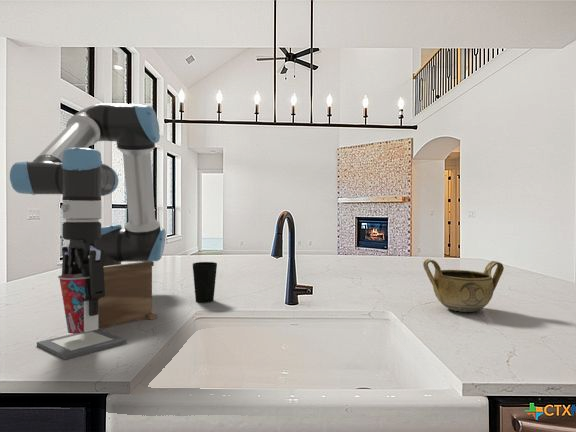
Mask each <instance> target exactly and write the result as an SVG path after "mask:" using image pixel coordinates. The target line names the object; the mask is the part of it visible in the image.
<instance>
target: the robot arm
mask: <svg viewBox="0 0 576 432" xmlns="http://www.w3.org/2000/svg"><path fill="white" fill-rule="evenodd" d="M160 136H161V135H160V126H159V121H158V117H157V113H156V111H155V110H154V108H152V106H150V105H145V104H135V103H129V104H128V103H97V104H94V105H93V104H92V105H91V106H88V107H85V108H83V109H81V110H80V111H78V112H76V113H75V114H73V115H72V116H71V117H70V118H68V120H67V122H66V125H65V128H64V130H62V131H61V133H60V134H59V135H57V136H56V137H55V139H54V140H52V141H51V143H49V145H47V147H46V148H44V150H42V151H41V152H40V153H39V154H38V155H37V156H36V158H35V159H33V160H32V161H27V160H25V161H17V162H14V163H13V164H12V166H11V167H10V171H9V182H10V184H11V187H12V189H13V190H14V192H16V193H18V194H24V195H25V194H26V195H32V196H33V195H34V196H35V195H62V204H61V205H60V209H61V210H62V219H63V220H65V221H64V222H63V223H62V224H61V226H62V228H61V229H62V230H61V231H62V232H61V233H62V234H61V235H62V236H61V237H62V239H63V240H65V241H69V244H68V246H62V247H61V254H62V265H61V266H62V269H61V275H65V274H79V273H82V276H83V277H90V278H87V279H85V293H86V298H84V299H83V301H84V332H89V331H93V330H97V329H98V300H99V299H100V298H101V297H105V284H104V268H103V266H109V265H119V264H122V262H123V263H124V262H127V263H137V262H146V261H153V262H159V261H160V260H161V259H162V256H163V254H164V252H165V251H164V249H165V244H166V236H167V235H166V234H167V233H166V229H165V228H162V227H161V223H160V222H159V221H158V220H157V219H156V214H155V213H156V212H155V197H154V185H153V171H152V167H153V166H152V154H151V153H152V151H153V150H154V149H155V148H156V143H159V141H160V138H161V137H160ZM98 142H116V148H117V149H118V150H119V151H120V152H121V153H122V159H123V160H122V161H123V170H124V179H125V190H126V202H127V212H128V222H126V224H125V225H124V228H123V226H122V225H121V224H115V225H106V226H102V223H101V221H100V220H101V219H102V197H104V196H108V195H110V194H112V193H113V192H115V191H116V189H117V187H118V186H119V176H118V174H117V171H115V170H114V169H113V168H112V167H110V166H109V165H107V164H104V163H103V161H102V154H101V152H100V150H98V149H94V148H89V147H90V146H93V145H95V144H97V143H98Z"/></svg>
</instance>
